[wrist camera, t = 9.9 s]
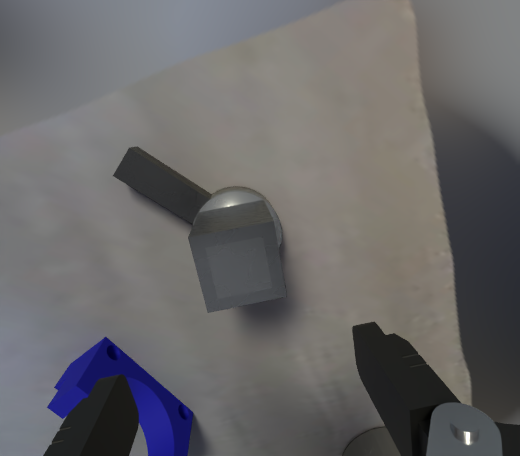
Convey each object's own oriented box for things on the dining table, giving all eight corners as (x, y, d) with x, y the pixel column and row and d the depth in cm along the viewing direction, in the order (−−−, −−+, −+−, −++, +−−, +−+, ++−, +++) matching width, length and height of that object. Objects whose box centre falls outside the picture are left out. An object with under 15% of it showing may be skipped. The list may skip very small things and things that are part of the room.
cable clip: (71, 362, 30) (32, 417, 24) (106, 335, 29) (76, 385, 23) (160, 434, 33) (145, 497, 27) (193, 410, 32) (185, 470, 27)
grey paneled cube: (263, 199, 24) (274, 220, 18) (274, 259, 25) (286, 296, 20) (198, 212, 24) (188, 237, 18) (213, 271, 25) (207, 312, 19)
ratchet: (293, 215, 27) (312, 240, 21) (247, 278, 28) (252, 319, 22) (152, 120, 24) (124, 116, 18) (108, 196, 25) (68, 217, 19)
